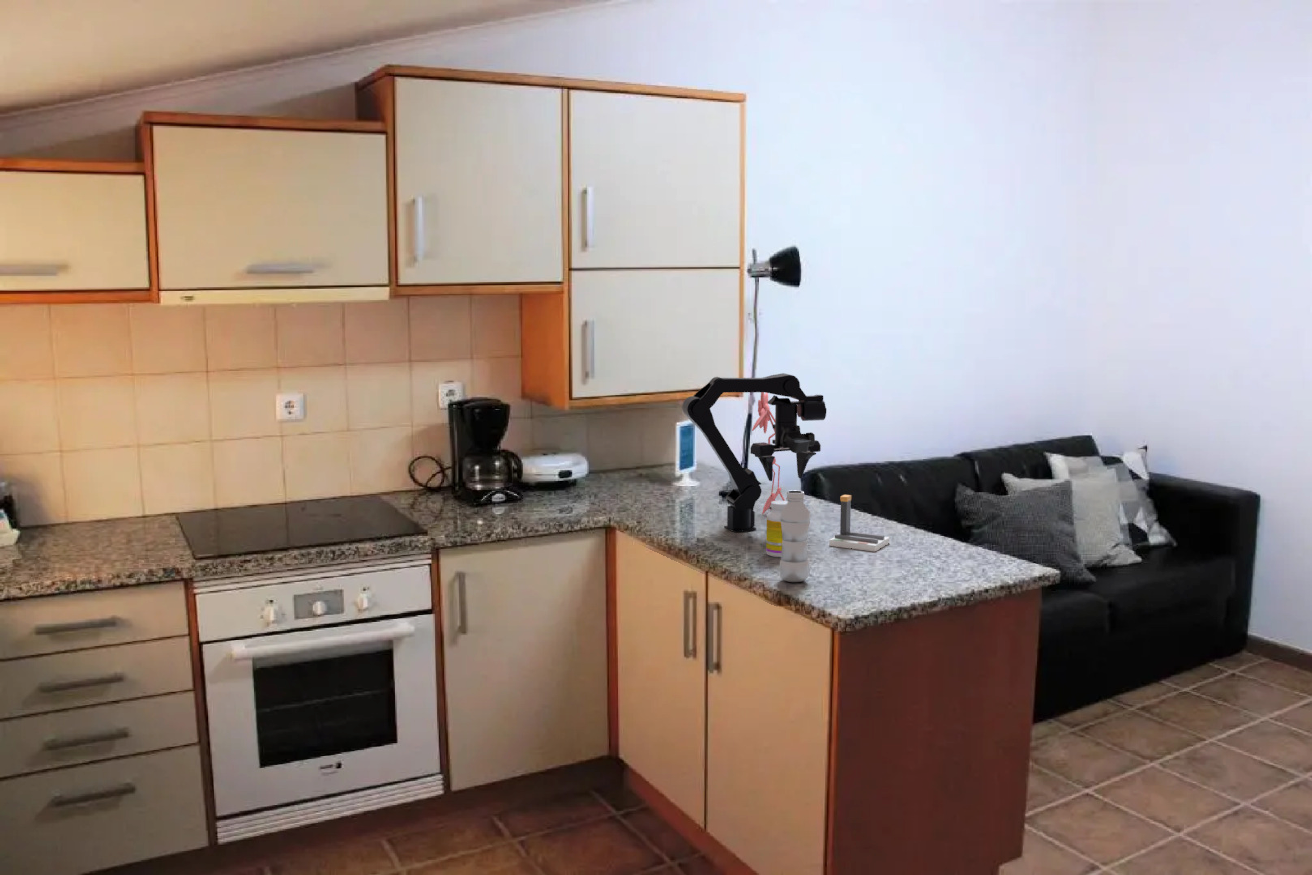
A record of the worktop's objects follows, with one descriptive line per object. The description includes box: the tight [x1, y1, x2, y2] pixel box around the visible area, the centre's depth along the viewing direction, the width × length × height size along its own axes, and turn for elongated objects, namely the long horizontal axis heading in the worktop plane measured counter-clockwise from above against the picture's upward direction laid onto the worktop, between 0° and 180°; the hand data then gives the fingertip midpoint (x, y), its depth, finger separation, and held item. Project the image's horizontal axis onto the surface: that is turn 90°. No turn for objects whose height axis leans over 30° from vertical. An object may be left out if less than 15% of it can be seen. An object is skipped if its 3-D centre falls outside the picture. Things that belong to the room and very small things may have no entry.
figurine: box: [751, 392, 786, 515], centre depth 317 cm, size 15×26×35 cm, turn 162°
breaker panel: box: [828, 530, 890, 552], centre depth 277 cm, size 12×10×2 cm
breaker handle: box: [839, 494, 852, 535], centre depth 278 cm, size 2×3×10 cm, turn 149°
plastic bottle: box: [778, 490, 812, 583], centre depth 242 cm, size 6×7×20 cm
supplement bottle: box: [765, 500, 788, 558], centre depth 266 cm, size 7×7×13 cm
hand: (785, 479), depth 295 cm, fingers open, 9 cm apart
